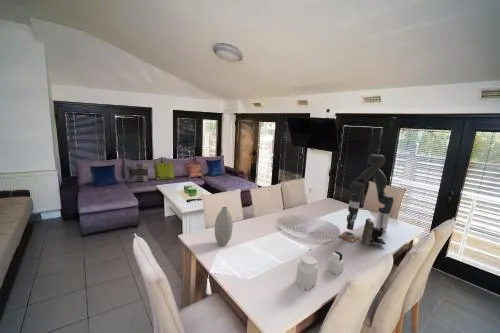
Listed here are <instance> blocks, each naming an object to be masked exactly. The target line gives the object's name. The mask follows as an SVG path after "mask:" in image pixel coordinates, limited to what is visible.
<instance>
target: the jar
mask: <svg viewBox="0 0 500 333" xmlns="http://www.w3.org/2000/svg"><path fill="white" fill-rule="evenodd" d="M296 269H297V270H296V276H295V284H296V283H297V284H298V285H299V286H300V287H302V288H304V289H303V290H305V289H310V288H311V287H312V286H314V287H316V286H317V282H318V281H317V279H318V273H319V268H318V266H317V260H316V258H315V257H313V256H311V255H303V256H301V260H300V261H299V262H298V264H297V268H296ZM297 284H296V285H297ZM298 285H297V286H298ZM315 285H316V286H315ZM299 286H298V287H299ZM300 287H299V288H300ZM302 288H301V289H302ZM312 288H313V287H312ZM312 288H311V289H312ZM311 289H310V290H311Z"/></svg>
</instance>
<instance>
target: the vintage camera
mask: <svg viewBox="0 0 500 333" xmlns="http://www.w3.org/2000/svg"><path fill="white" fill-rule="evenodd" d="M383 230H384V229H383V228H382V227H381V229H380V230H379V229H378V228H375V223H374V222H373V221H372V219H371V218H366V219H365V222H364V227H363V231H362V235H361V239H362V241H363V243H364V245H365V246H369V245H370V244H371V243H373V244H378V245H379V244H380V245H384V246H385V245H387V243H386V242H385V241H384V240H383V238H381V237H382V236H383V234H384V232H382V231H383Z"/></svg>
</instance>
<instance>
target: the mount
mask: <svg viewBox="0 0 500 333" xmlns="http://www.w3.org/2000/svg"><path fill="white" fill-rule="evenodd" d="M338 235H339V234H338ZM338 238H341V239H343V240H345V241H348V242H349V243H352V244H353V243H354V242H356V241H358V240H359V239H360V237H359V236H357V235H355V233H353V232H351V231H349V230H348V231H343V232H342V233H340V235H339V237H338Z"/></svg>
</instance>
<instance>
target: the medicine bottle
mask: <svg viewBox="0 0 500 333" xmlns="http://www.w3.org/2000/svg"><path fill="white" fill-rule="evenodd" d="M327 261H328V262H327V268H326V269H327V270H328V271H329V270H330V271H329V272H331V271H332V272H331V273H333V274H334V273H335V275H336V274H337V275H339V274H341V273H343V271H344V265H345V261H344V260H343V253H342V252H340V251H336V250H334V251H332V252H331V257H330V258H328V260H327ZM340 272H341V273H340Z"/></svg>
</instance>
